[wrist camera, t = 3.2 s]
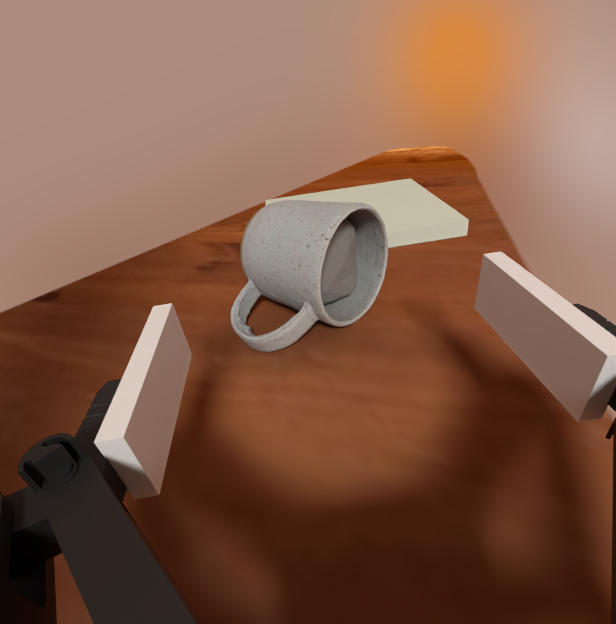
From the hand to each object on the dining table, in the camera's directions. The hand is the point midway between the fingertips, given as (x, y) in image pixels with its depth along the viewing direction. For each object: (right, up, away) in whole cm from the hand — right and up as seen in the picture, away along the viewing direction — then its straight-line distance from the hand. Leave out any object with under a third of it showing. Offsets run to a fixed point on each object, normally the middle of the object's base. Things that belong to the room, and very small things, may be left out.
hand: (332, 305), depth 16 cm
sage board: (+4, +9, +24) cm, 26 cm away
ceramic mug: (-1, -1, +11) cm, 11 cm away
